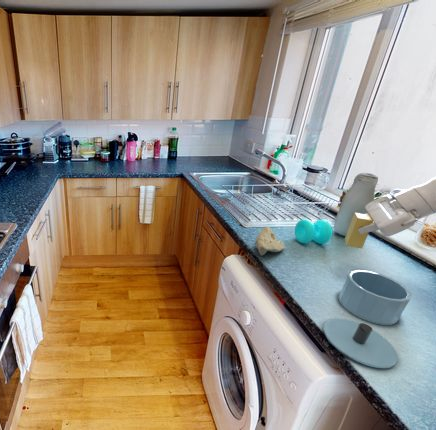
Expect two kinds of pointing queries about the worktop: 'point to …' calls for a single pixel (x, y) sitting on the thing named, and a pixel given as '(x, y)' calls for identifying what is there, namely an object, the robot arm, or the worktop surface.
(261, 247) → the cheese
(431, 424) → the worktop surface
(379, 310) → the pot
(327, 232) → the donuts
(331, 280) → the worktop surface
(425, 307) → the worktop surface
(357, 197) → the grey bottle
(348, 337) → the pot lid
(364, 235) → the butter
